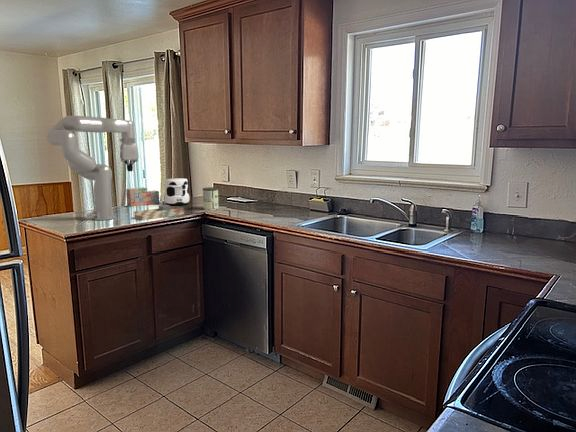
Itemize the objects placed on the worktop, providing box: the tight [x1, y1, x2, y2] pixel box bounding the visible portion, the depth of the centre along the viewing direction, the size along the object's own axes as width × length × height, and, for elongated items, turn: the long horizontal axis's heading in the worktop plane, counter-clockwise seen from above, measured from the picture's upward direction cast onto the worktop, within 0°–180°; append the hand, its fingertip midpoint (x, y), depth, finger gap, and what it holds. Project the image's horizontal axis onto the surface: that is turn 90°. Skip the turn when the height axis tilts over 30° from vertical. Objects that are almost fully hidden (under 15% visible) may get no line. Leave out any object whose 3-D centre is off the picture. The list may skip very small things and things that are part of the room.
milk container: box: [163, 177, 190, 206], centre depth 310 cm, size 17×17×18 cm
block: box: [158, 204, 171, 211], centre depth 267 cm, size 5×5×4 cm
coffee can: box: [202, 186, 220, 211], centre depth 291 cm, size 10×10×14 cm
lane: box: [133, 205, 185, 221], centre depth 265 cm, size 28×10×4 cm, turn 136°
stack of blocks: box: [125, 187, 160, 208], centre depth 307 cm, size 21×6×12 cm, turn 134°
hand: (130, 171), depth 270 cm, fingers closed
